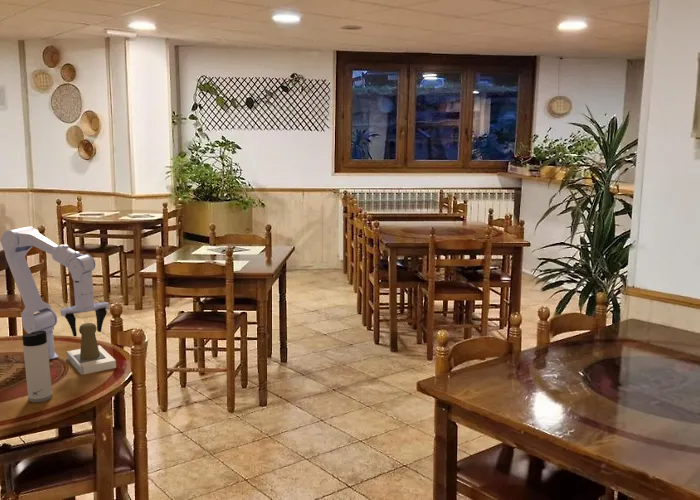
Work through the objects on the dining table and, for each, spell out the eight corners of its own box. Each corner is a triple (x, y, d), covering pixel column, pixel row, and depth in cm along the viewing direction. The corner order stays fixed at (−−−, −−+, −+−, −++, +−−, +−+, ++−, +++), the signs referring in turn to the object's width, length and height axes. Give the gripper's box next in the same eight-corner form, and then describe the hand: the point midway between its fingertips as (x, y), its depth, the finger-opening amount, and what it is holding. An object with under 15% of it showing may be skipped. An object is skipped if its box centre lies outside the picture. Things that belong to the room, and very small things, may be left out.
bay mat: (73, 356, 224) (73, 355, 224) (98, 351, 229) (98, 350, 229) (80, 363, 218) (79, 362, 218) (105, 358, 222) (105, 357, 222)
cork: (93, 360, 219) (90, 327, 217) (76, 359, 220) (73, 326, 218) (103, 353, 225) (101, 321, 223) (86, 352, 226) (84, 320, 224)
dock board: (67, 358, 229) (66, 351, 228) (100, 352, 235) (99, 344, 235) (81, 375, 215) (80, 367, 214) (116, 367, 221) (115, 360, 220)
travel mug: (37, 404, 193) (31, 336, 189) (23, 399, 196) (17, 332, 192) (57, 397, 198) (51, 330, 194) (43, 392, 201) (37, 326, 197)
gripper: (63, 298, 212) (66, 340, 215) (110, 292, 220) (113, 332, 223) (57, 294, 218) (61, 335, 220) (104, 287, 226) (107, 327, 229)
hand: (87, 333), depth 222 cm, fingers open, 7 cm apart
